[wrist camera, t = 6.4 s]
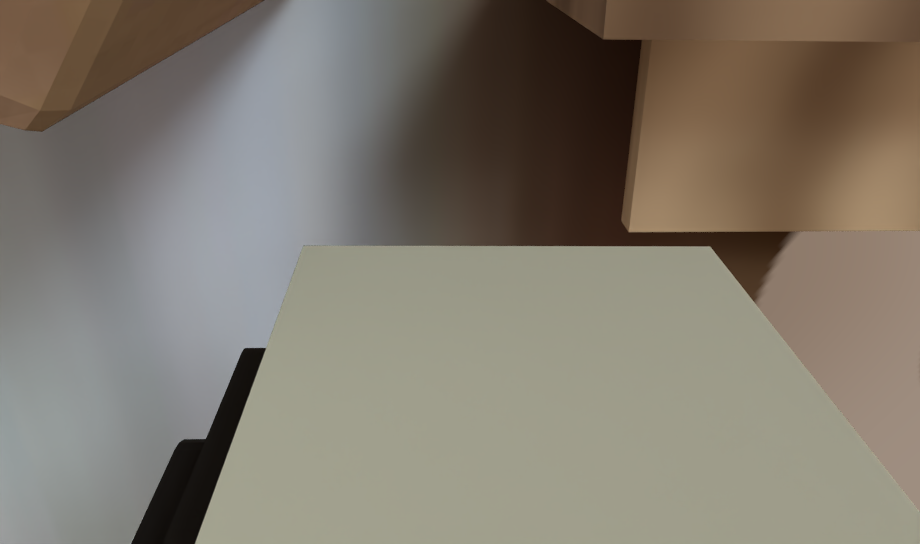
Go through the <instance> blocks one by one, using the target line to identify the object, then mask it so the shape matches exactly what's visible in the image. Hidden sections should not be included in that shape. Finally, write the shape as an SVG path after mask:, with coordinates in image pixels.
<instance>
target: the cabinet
mask: <svg viewBox="0 0 920 544" xmlns="http://www.w3.org/2000/svg"><path fill="white" fill-rule="evenodd" d="M195 544H920V511H919V510H918V509H917V508H916V506H915V505H914V504H913V502H912V501H911V500H910V499H909V498H908V496H907V495H906V494H905V492H904V491H903V490H902V489H901V487H900V486H899V485H898V484H897V482H896V481H895V480H894V478H892V476H891V475H890V473H889V472H888V471H887V470H886V468H885V467H884V466H883V465H882V463H881V462H880V461H879V460H878V458H877V457H876V456H875V455H874V453H873V452H872V451H871V450H870V448H869V447H868V446H867V444H866V443H865V442H864V441H863V439H862V438H861V437H860V435H859V434H858V433H857V432H856V430H855V429H854V428H853V427H852V425H851V424H850V423H849V422H848V420H847V419H846V418H845V417H844V415H843V414H842V413H841V411H839V409H838V408H837V407H836V405H835V404H834V403H833V401H832V400H831V399H830V398H829V396H828V395H827V394H826V393H825V391H824V390H823V389H822V388H821V386H820V385H819V384H818V382H817V381H816V380H815V379H814V377H813V376H812V375H811V374H810V372H809V371H808V370H807V368H806V367H805V366H804V365H803V363H802V362H801V361H800V360H799V358H798V357H797V356H796V355H795V353H794V352H793V351H792V350H791V348H790V347H789V346H788V344H787V343H786V342H785V341H784V339H783V338H782V337H781V336H780V334H779V333H778V332H777V331H776V329H775V328H774V327H773V325H772V324H771V323H770V322H769V320H768V319H767V318H766V317H765V315H764V314H763V313H762V312H761V310H760V309H759V308H758V306H757V305H756V304H755V303H754V301H753V300H752V299H751V298H750V296H749V295H748V294H747V293H746V291H745V290H744V289H743V288H742V286H741V285H740V284H739V282H738V281H737V280H736V279H735V277H734V276H733V275H732V274H731V272H730V271H729V270H728V269H727V267H726V266H725V265H724V264H723V262H722V261H721V260H720V258H719V257H718V256H717V255H716V253H715V252H714V251H713V250H712V248H711V247H710V246H303V248H302V251H301V254H300V257H299V259H298V262H297V265H296V268H295V270H294V273H293V276H292V279H291V281H290V284H289V287H288V290H287V292H286V295H285V298H284V301H283V303H282V306H281V309H280V312H279V314H278V317H277V320H276V322H275V325H274V328H273V331H272V333H271V336H270V339H269V342H268V344H267V347H266V350H265V353H264V355H263V358H262V361H261V364H260V366H259V369H258V372H257V375H256V377H255V380H254V383H253V386H252V388H251V391H250V394H249V397H248V399H247V402H246V405H245V408H244V410H243V413H242V416H241V419H240V421H239V424H238V427H237V430H236V432H235V435H234V438H233V441H232V443H231V446H230V449H229V452H228V454H227V457H226V460H225V463H224V465H223V468H222V471H221V474H220V476H219V479H218V482H217V485H216V487H215V490H214V493H213V496H212V498H211V501H210V504H209V507H208V509H207V512H206V515H205V518H204V520H203V523H202V526H201V529H200V531H199V534H198V537H197V540H196V542H195Z"/></svg>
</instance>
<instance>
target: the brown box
mask: <svg viewBox="0 0 920 544" xmlns="http://www.w3.org/2000/svg"><path fill="white" fill-rule="evenodd" d="M546 1H547V2H549V3H550V4H552V5H553V6H555V7H556V8H558V9H559V10H561V11H562V12H564V13H565V14H567V15H568V16H569V17H571V18H572V19H574V20H575V21H577V22H578V23H580V24H581V25H583V26H584V27H586V28H587V29H589V30H590V31H592V32H593V33H595V34H596V35H598V36H599V37H600V38H602V39H620V40H642V44H641V53H640V62H639V70H638V79H637V88H636V96H635V105H634V114H633V123H632V131H631V140H630V149H629V157H628V166H627V175H626V184H625V192H624V201H623V210H622V218H621V221H622V223H623V224H624V226H625V227H626V229H627V230H628V232H758V231H920V0H546Z"/></svg>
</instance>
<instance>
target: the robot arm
mask: <svg viewBox="0 0 920 544" xmlns="http://www.w3.org/2000/svg"><path fill="white" fill-rule="evenodd" d="M265 350H266V348H245V349H244V350H243V351H242V353H241V356H240V358H239V361H238V363H237V365H236V368H235V370H234V373H233V375H232V377H231V380H230V382H229V385H228V387H227V390H226V392H225V394H224V397H223V399H222V402H221V404H220V407H219V409H218V411H217V414H216V416H215V419H214V421H213V424H212V426H211V428H210V431H209V433H208V436H207V438H206V439H184V440H182V441H181V442H179V444H178V445H177V447H176V449H175V450H174V452H173V455H172V457H171V459H170V461H169V463H168V465H167V468H166V470H165V472H164V474H163V476H162V478H161V481H160V483H159V485H158V487H157V489H156V491H155V494H154V496H153V498H152V500H151V502H150V504H149V507H148V509H147V511H146V513H145V515H144V517H143V520H142V522H141V524H140V526H139V528H138V530H137V533H136V535H135V537H134V539H133V541H132V543H131V544H195V542H196V540H197V537H198V534H199V531H200V529H201V526H202V523H203V520H204V518H205V515H206V512H207V509H208V507H209V504H210V501H211V498H212V496H213V493H214V490H215V487H216V485H217V482H218V479H219V476H220V474H221V471H222V468H223V465H224V463H225V460H226V457H227V454H228V452H229V449H230V446H231V443H232V441H233V438H234V435H235V432H236V430H237V427H238V424H239V421H240V419H241V416H242V413H243V410H244V408H245V405H246V402H247V399H248V397H249V394H250V391H251V388H252V386H253V383H254V380H255V377H256V375H257V372H258V369H259V366H260V364H261V361H262V358H263V355H264V353H265Z"/></svg>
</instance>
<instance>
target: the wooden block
mask: <svg viewBox="0 0 920 544" xmlns="http://www.w3.org/2000/svg"><path fill="white" fill-rule="evenodd" d="M262 1H264V0H0V124H2V125H6V126H10V127H14V128H18V129H22V130H28V131H41V132H42V131H44V130H45V129H47V128H49V127H51V126H52V125H54V124H56V123H57V122H59V121H61V120H62V119H64V118H66V117H68V116H69V115H71V114H73V113H74V112H76V111H78V110H79V109H81V108H83V107H84V106H86V105H88V104H90V103H91V102H93V101H95V100H96V99H98V98H100V97H101V96H103V95H105V94H106V93H108V92H110V91H112V90H113V89H115V88H117V87H118V86H120V85H122V84H123V83H125V82H127V81H129V80H130V79H132V78H134V77H135V76H137V75H139V74H140V73H142V72H144V71H145V70H147V69H149V68H151V67H152V66H154V65H156V64H157V63H159V62H161V61H162V60H164V59H166V58H167V57H169V56H171V55H173V54H174V53H176V52H178V51H179V50H181V49H183V48H184V47H186V46H188V45H190V44H191V43H193V42H195V41H196V40H198V39H200V38H201V37H203V36H205V35H206V34H208V33H210V32H212V31H213V30H215V29H217V28H218V27H220V26H222V25H223V24H225V23H227V22H229V21H230V20H232V19H234V18H235V17H237V16H239V15H240V14H242V13H244V12H245V11H247V10H249V9H251V8H252V7H254V6H256V5H257V4H259V3H261V2H262Z"/></svg>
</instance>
